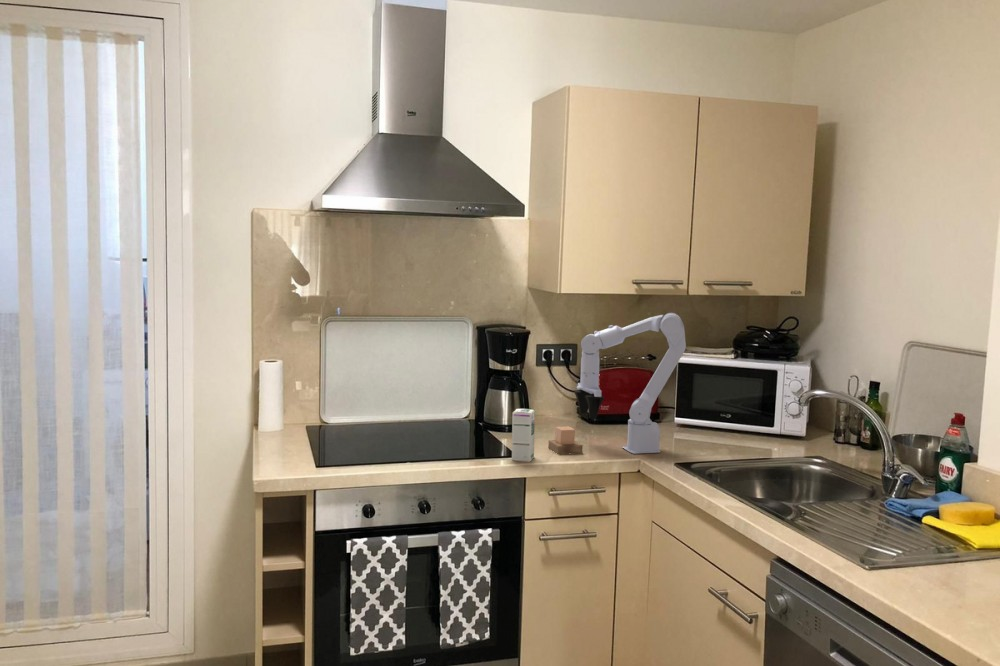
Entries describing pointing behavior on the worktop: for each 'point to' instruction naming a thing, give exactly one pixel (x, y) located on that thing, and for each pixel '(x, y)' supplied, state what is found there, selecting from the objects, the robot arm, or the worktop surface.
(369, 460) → the worktop surface
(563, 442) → the cube
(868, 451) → the worktop surface
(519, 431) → the syrup box
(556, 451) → the walnut block
